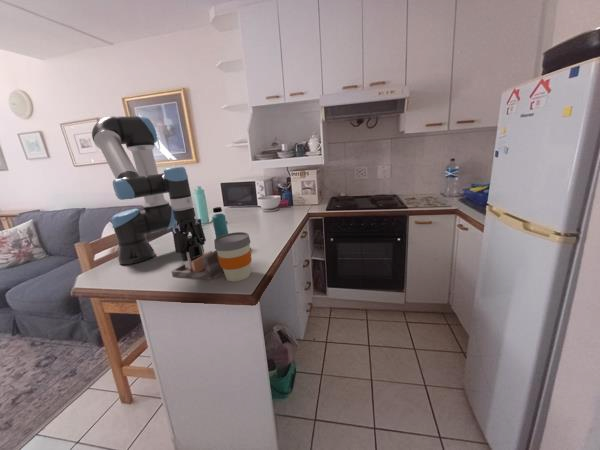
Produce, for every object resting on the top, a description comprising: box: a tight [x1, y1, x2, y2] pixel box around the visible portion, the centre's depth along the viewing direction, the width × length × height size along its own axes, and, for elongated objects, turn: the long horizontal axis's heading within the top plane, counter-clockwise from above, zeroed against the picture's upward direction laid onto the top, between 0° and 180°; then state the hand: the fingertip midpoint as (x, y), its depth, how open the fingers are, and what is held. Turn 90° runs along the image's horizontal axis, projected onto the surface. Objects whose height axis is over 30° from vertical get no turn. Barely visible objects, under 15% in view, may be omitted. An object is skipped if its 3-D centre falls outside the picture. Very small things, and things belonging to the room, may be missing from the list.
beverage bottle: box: [211, 206, 229, 239], centre depth 130 cm, size 6×7×20 cm
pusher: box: [191, 250, 213, 272], centre depth 105 cm, size 1×11×5 cm, turn 160°
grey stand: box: [171, 249, 224, 281], centre depth 105 cm, size 19×14×9 cm
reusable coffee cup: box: [213, 231, 252, 282], centre depth 96 cm, size 13×13×15 cm
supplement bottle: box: [187, 234, 203, 262], centre depth 106 cm, size 7×7×12 cm
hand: (195, 263), depth 107 cm, fingers closed on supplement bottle, 7 cm apart
